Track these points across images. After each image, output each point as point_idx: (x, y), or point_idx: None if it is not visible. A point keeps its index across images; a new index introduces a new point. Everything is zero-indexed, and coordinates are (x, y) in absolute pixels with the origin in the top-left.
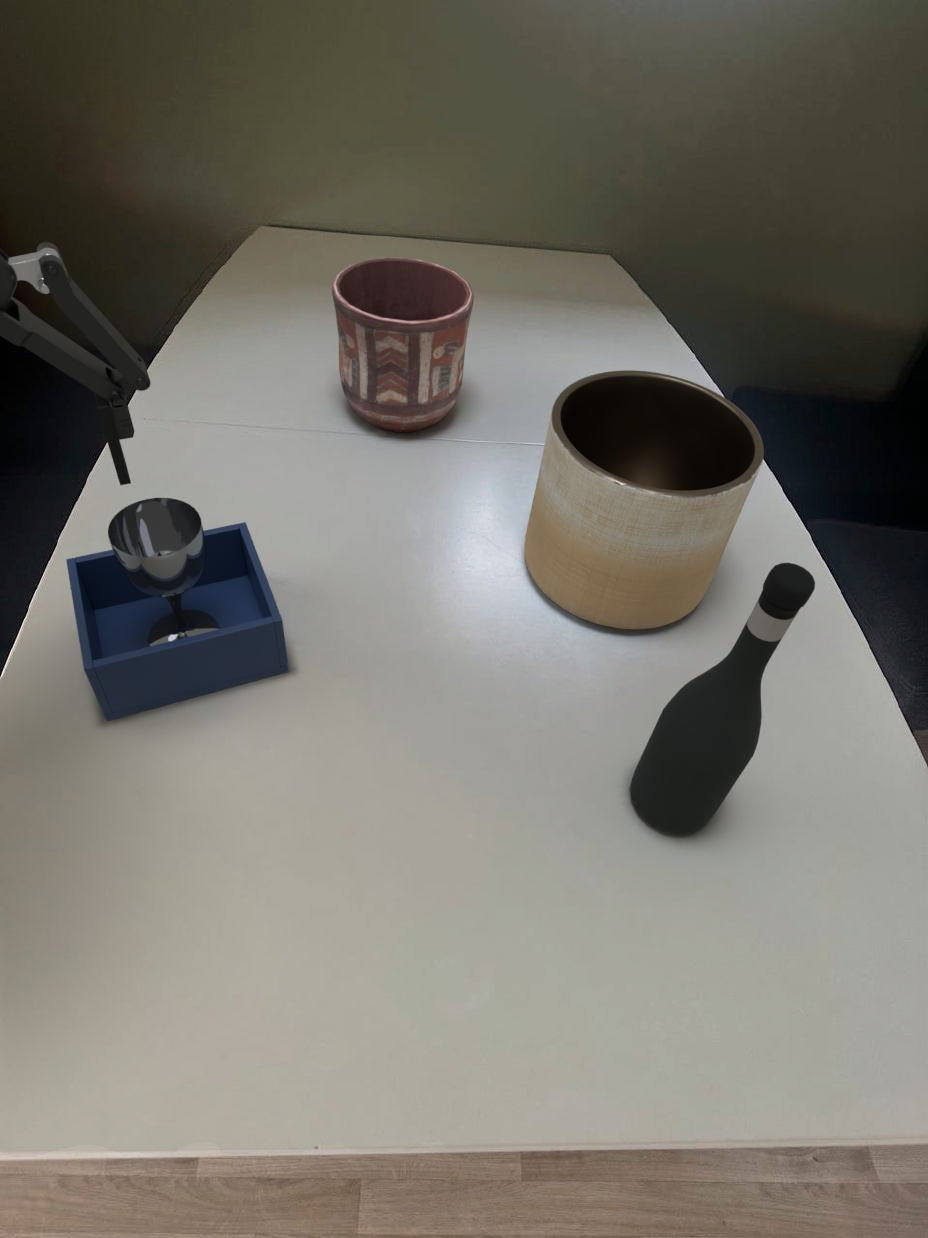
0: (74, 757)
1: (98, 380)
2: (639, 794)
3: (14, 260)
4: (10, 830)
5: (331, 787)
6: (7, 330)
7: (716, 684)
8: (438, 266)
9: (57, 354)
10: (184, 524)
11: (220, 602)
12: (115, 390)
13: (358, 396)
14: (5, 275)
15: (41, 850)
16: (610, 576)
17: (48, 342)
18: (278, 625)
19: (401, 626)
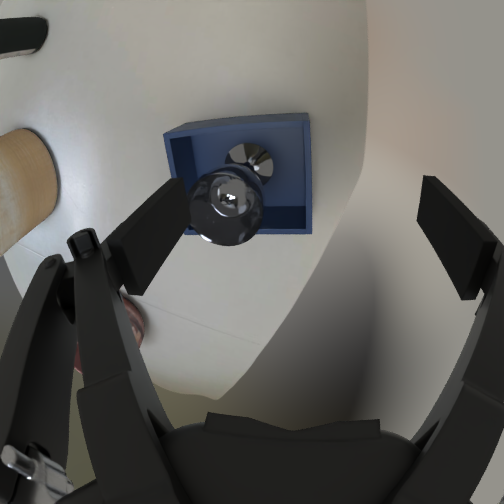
0: (329, 92)
1: (82, 274)
2: (39, 28)
3: None
4: (368, 56)
5: (173, 35)
6: (114, 418)
7: None
8: (77, 370)
9: (89, 329)
10: (210, 223)
11: None
12: (80, 259)
13: (130, 319)
14: None
15: (351, 36)
16: (8, 145)
17: (82, 357)
18: (167, 132)
19: (118, 147)
